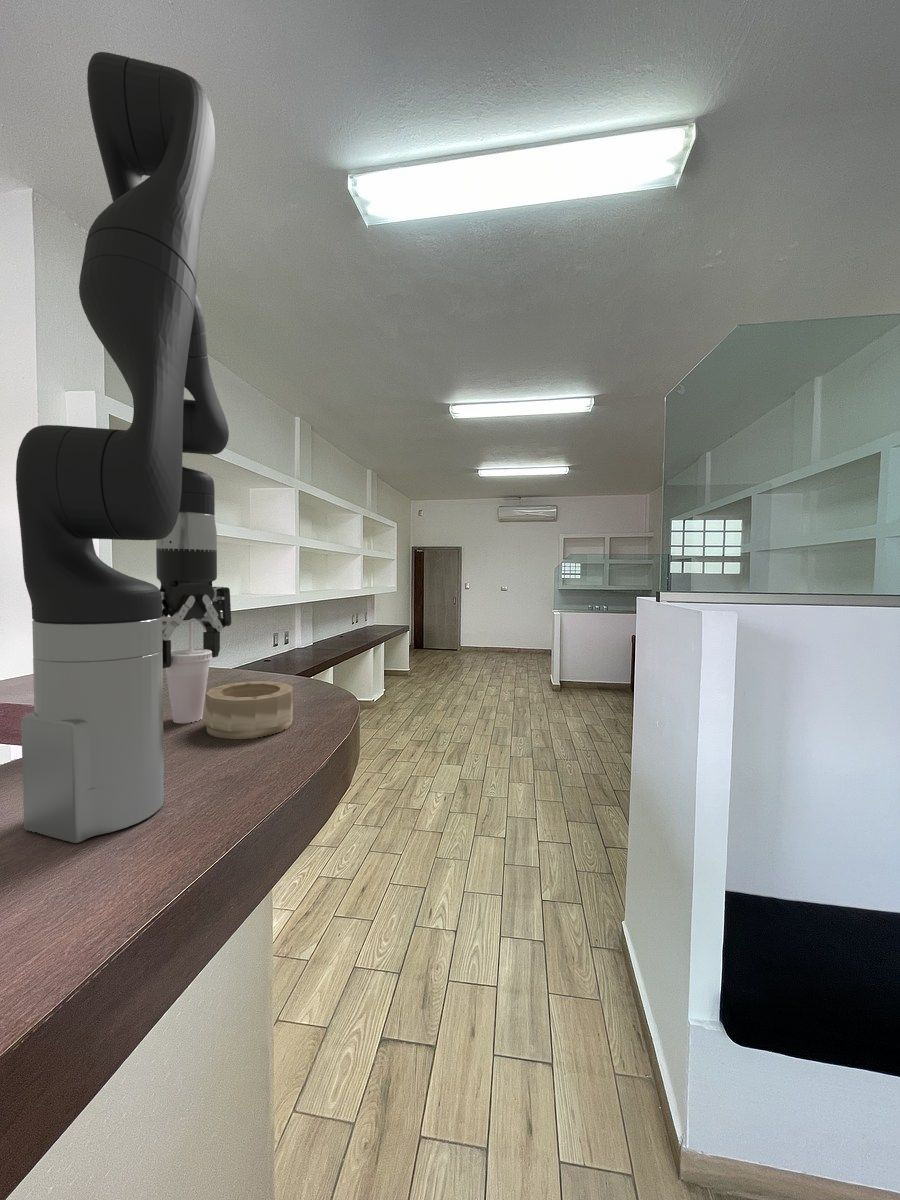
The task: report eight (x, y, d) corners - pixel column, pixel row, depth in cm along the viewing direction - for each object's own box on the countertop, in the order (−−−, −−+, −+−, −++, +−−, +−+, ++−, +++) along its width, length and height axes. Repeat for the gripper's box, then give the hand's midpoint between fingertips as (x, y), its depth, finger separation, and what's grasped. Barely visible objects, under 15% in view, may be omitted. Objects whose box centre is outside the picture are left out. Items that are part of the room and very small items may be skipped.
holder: (257, 743, 63) (257, 704, 63) (187, 732, 67) (187, 695, 66) (308, 719, 74) (308, 685, 73) (245, 711, 77) (245, 678, 77)
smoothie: (198, 727, 69) (198, 624, 68) (151, 725, 69) (150, 623, 68) (220, 713, 76) (220, 619, 75) (177, 712, 76) (177, 618, 75)
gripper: (164, 545, 63) (166, 674, 64) (244, 549, 77) (245, 655, 78) (119, 544, 65) (122, 669, 67) (205, 548, 79) (205, 651, 80)
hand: (188, 661), depth 72 cm, fingers open, 8 cm apart
